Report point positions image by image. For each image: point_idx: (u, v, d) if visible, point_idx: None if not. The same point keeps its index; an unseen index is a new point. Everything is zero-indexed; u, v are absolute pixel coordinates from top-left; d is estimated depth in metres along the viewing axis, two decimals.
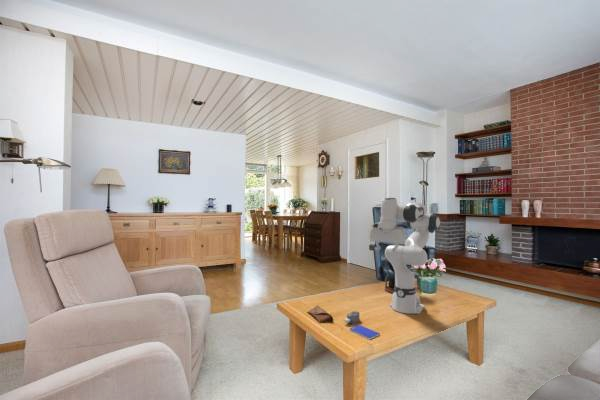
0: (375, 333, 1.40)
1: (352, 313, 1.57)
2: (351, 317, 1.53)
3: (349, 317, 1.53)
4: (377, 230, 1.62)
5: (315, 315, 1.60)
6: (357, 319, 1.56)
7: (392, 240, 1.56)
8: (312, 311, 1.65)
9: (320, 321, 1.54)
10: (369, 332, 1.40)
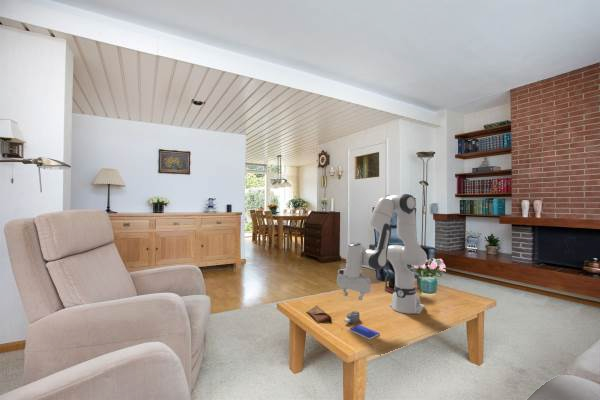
0: (375, 333, 1.40)
1: (352, 313, 1.57)
2: (351, 317, 1.53)
3: (349, 317, 1.53)
4: (343, 277, 1.59)
5: (314, 315, 1.60)
6: (357, 319, 1.56)
7: (357, 289, 1.53)
8: (311, 311, 1.65)
9: (318, 321, 1.54)
10: (369, 332, 1.40)
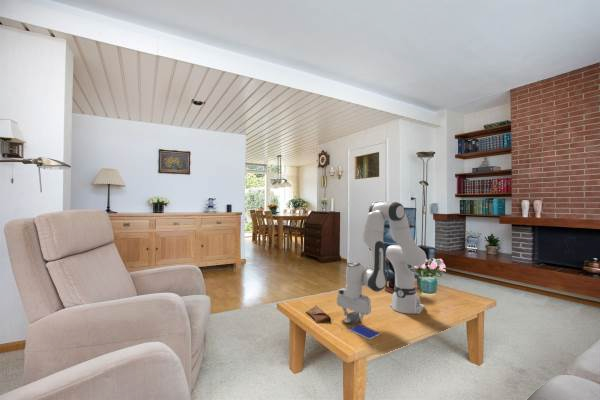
0: (375, 333, 1.40)
1: (352, 313, 1.57)
2: (351, 317, 1.53)
3: (349, 317, 1.53)
4: (343, 297, 1.59)
5: (313, 315, 1.59)
6: (357, 319, 1.56)
7: (357, 310, 1.53)
8: (310, 311, 1.65)
9: (318, 321, 1.53)
10: (369, 332, 1.40)
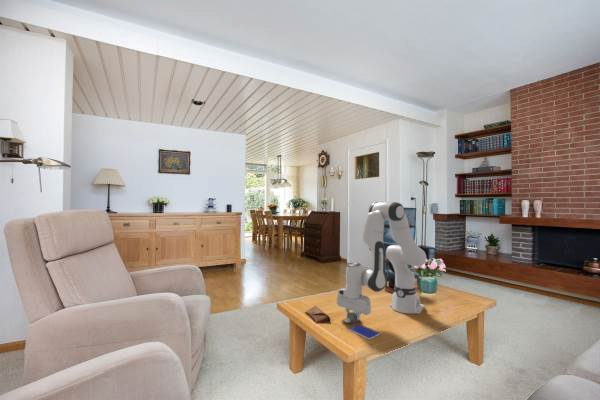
0: (375, 333, 1.40)
1: (352, 313, 1.57)
2: (351, 317, 1.53)
3: (349, 317, 1.53)
4: (343, 297, 1.59)
5: (312, 315, 1.59)
6: None
7: (357, 310, 1.53)
8: (309, 311, 1.65)
9: (317, 321, 1.53)
10: (369, 332, 1.40)
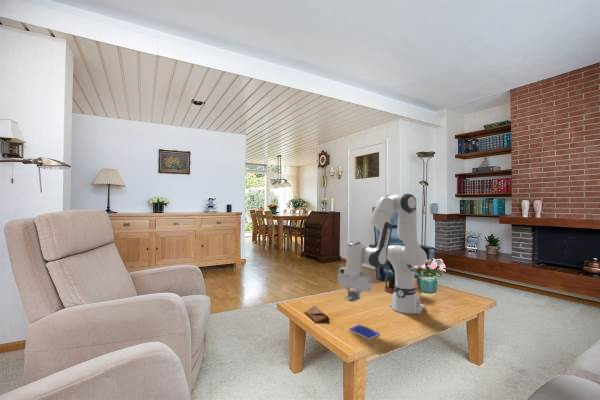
0: (375, 333, 1.40)
1: (353, 291, 1.58)
2: (352, 295, 1.53)
3: (350, 295, 1.54)
4: (344, 275, 1.59)
5: (311, 315, 1.59)
6: None
7: (358, 287, 1.53)
8: (309, 311, 1.64)
9: (316, 321, 1.53)
10: (369, 332, 1.41)
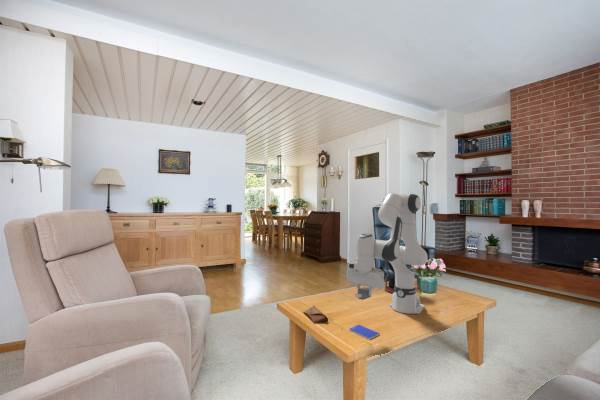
0: (375, 333, 1.40)
1: (363, 288, 1.43)
2: (363, 292, 1.39)
3: (360, 292, 1.40)
4: (353, 271, 1.45)
5: (310, 315, 1.59)
6: None
7: (369, 284, 1.39)
8: (308, 311, 1.64)
9: (315, 321, 1.53)
10: (369, 332, 1.41)
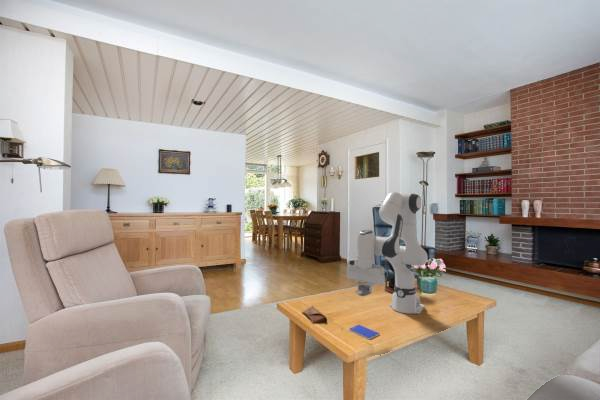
0: (375, 333, 1.40)
1: (364, 285, 1.43)
2: (363, 288, 1.39)
3: (361, 289, 1.39)
4: (354, 267, 1.45)
5: (309, 316, 1.59)
6: None
7: (370, 281, 1.39)
8: (307, 311, 1.64)
9: (314, 322, 1.53)
10: (369, 332, 1.41)
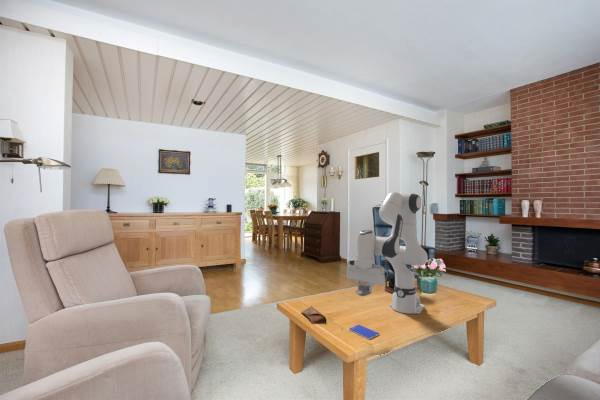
0: (375, 333, 1.40)
1: (364, 285, 1.43)
2: (363, 288, 1.39)
3: (361, 289, 1.39)
4: (354, 267, 1.45)
5: (308, 316, 1.59)
6: None
7: (370, 281, 1.39)
8: (306, 312, 1.64)
9: (313, 322, 1.53)
10: (368, 332, 1.41)
